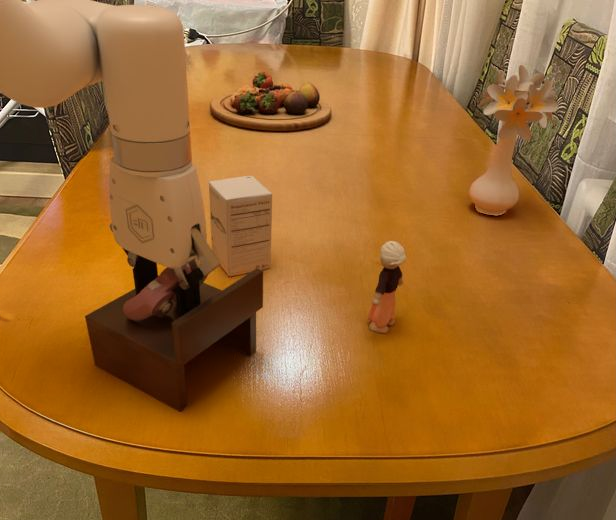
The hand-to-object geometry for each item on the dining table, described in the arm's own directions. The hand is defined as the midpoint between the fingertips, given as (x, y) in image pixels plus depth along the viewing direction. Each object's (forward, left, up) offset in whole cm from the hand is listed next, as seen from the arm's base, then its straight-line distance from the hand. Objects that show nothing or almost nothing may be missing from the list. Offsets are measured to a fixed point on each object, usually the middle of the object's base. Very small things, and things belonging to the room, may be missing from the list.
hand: (168, 301), depth 71 cm
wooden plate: (-52, +92, -8) cm, 106 cm away
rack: (+1, 0, -8) cm, 8 cm away
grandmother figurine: (+18, +22, -8) cm, 29 cm away
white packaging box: (-8, +24, -8) cm, 27 cm away
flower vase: (+17, +70, -8) cm, 72 cm away
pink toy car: (0, 0, -1) cm, 1 cm away
